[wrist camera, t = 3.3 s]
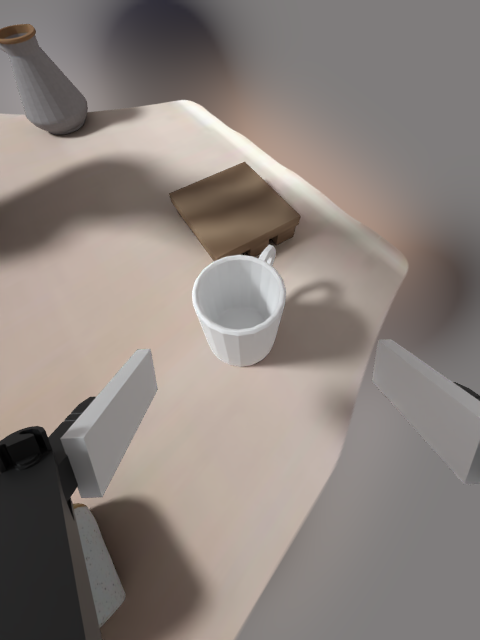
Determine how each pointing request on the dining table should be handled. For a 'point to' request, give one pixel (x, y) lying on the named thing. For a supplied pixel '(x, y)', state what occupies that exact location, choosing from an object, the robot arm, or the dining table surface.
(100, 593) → the ceramic mug
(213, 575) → the dining table surface
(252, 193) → the dock
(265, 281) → the mug
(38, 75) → the coffee pot
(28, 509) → the robot arm
